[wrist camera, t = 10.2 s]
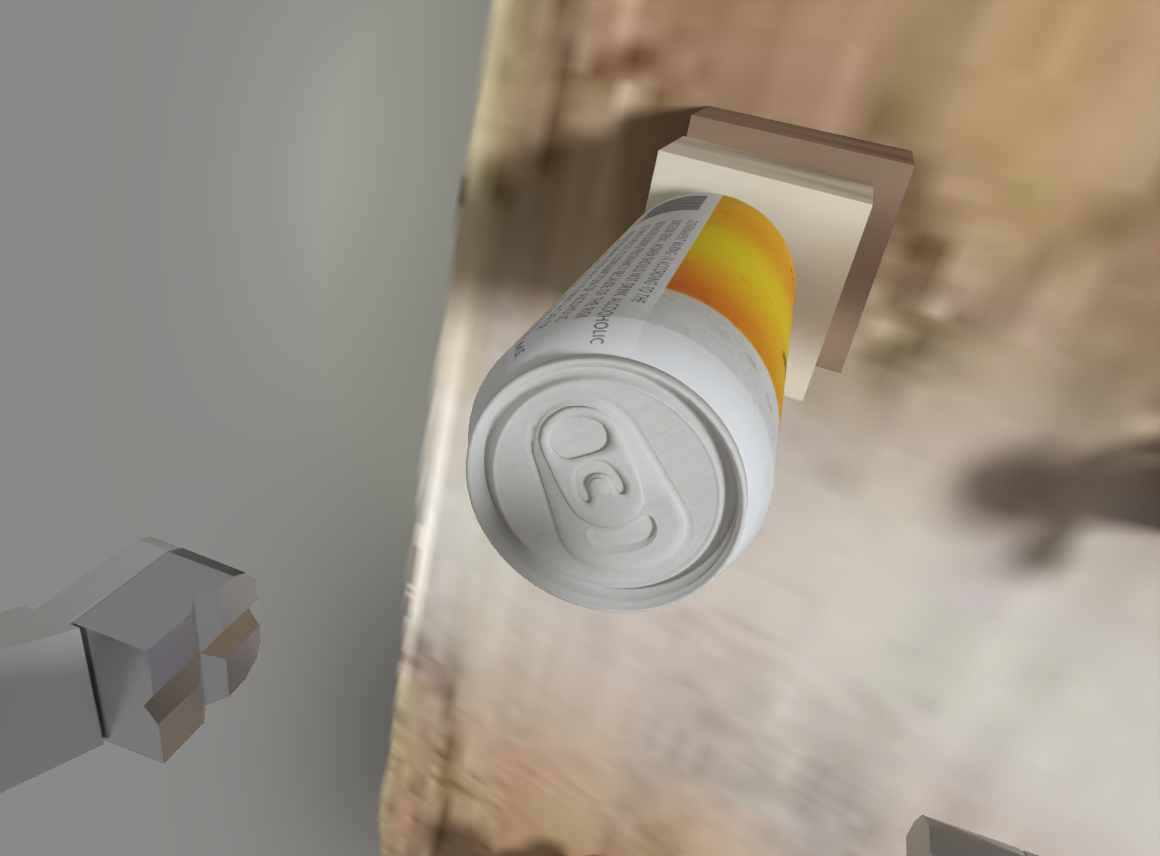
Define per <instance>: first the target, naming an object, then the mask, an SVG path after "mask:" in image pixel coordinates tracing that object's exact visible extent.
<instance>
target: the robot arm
mask: <svg viewBox="0 0 1160 856" xmlns="http://www.w3.org/2000/svg"><path fill="white" fill-rule="evenodd" d="M257 599H258V596H257V587H256V579H255V578H254V577H252V576H251V575H249V574H247V573H245V572H242V571H240V570H237V569H235V568H232V567H230V566H227V565H224V564H222V563H220V562H217V561H214V560H212V559H209V558H207V557H204V556H202V555H199V554H196V553H194V552H192V551H189V550H186V549H184V548H180V547H177V546H175V545H172V544H169V543H167V542H164V541H162V540H159V539H156V538H154V537H151V536H149V537H145V538H140V539H136V540H134V541H133V542H131V543H130V544H128V545H127V546H125V547H124V548H123V549H121V550H120V551H118V552H117V553H115V554H114V555H112V556H111V557H110V558H108V559H107V560H105V561H104V562H102V563H101V564H99V565H98V566H97V567H95V568H94V569H92V570H91V571H90V572H88V573H86V574H85V575H83V576H82V577H81V578H79V579H78V580H76V581H75V582H73V583H72V584H71V585H69V586H68V587H66V588H65V589H63V590H62V591H60V592H59V593H57V594H56V595H55V596H53V597H52V598H50V599H49V600H47V601H46V602H44V603H43V604H41V605H40V606H39V607H37V608H36V609H32V608H29V607H26V606H22V607H17V608H14V609H10V610H6V611H2V612H0V793H2V792H4V791H6V790H8V789H10V788H12V787H14V786H17V785H19V784H21V783H23V782H25V781H27V780H29V779H31V778H33V777H35V776H38V775H40V774H42V773H44V772H46V771H48V770H50V769H52V768H55V767H57V766H59V765H61V764H63V763H65V762H67V761H69V760H71V759H74V758H76V757H78V756H80V755H82V754H84V753H86V752H88V751H90V750H93V749H95V748H97V747H99V746H101V745H103V743H104V742H103V740H105V741H108V742H110V743H113V744H115V745H118V746H120V747H123V748H126V749H128V750H131V751H133V752H136V753H138V754H141V755H144V756H146V757H149V758H151V759H154V760H157V761H159V762H161V763H165V762H166V761H167V760H168V759H169V758H170V757H171V756H172V755H173V754H174V753H175V752H176V751H177V750H178V749H179V748H180V747H181V746H182V745H183V744H184V743H185V741H187V740H188V739H189V737H190V736H191V735H192V734H193V733H194V732H195V731H196V730H197V729H198V728H199V727H200V726H201V725H202V724H203V723H204V718H205V709H206V705H208V704H211V703H213V702H216V701H219V700H221V699H224V698H226V697H229V696H230V695H231V694H232V693H233V692H234V691H235V690H236V688H238V686H239V685H240V684H241V683H242V682H243V681H244V680H245V678H246V677H247V674H248V673H249V671H250V669H251V667H252V666H253V664H254V662H255V660H256V658H257V654H258V649H259V645H260V625H259V624H258V622H257V621H256V619H255V618H254V616H253V614H252V613H251V612H250V610H249V607H250V606H251V605H252V604H253V603H254V602H255V601H256V600H257ZM906 845H907V856H1038V855H1035V854H1032V853H1029V852H1027V851H1021V850H1020V849H1018V848H1016V847H1013V846H1010V845H1008V844H1005V843H1002V842H999V841H996V840H993V839H990V838H987V837H985V836H982V835H979V834H976V833H973V832H970V831H967V830H964V829H961V828H959V827H956V826H953V825H950V824H947V823H944V822H941V821H938V820H936V819H933V818H930V817H927V816H924V815H921V816H920V817H919V818H918V819H917V820H915V821H914V823H913V825H912V827H911V829H910V831H909V832H908V834H907V836H906Z"/></svg>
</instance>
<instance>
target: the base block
mask: <svg viewBox="0 0 1160 856" xmlns="http://www.w3.org/2000/svg"><path fill="white" fill-rule="evenodd" d="M686 137H689V138H693V139H697V140H701V141H705V142H709V143H713V144H717V145H721V146H725V147H729V148H733V149H737V150H741V151H745V152H749V153H753V154H757V155H761V156H765V157H769V158H773V159H777V160H781V161H785V162H789V163H793V164H797V165H801V166H805V167H809V168H813V169H817V170H821V171H825V172H829V173H833V174H837V175H841V176H845V177H849V178H853V179H857V180H861V181H865V182H869V183H873V184H874V191H873V206H872V209H871V212H870V214H869V217H868V220H867V223H866V226H865V228H864V231H863V234H862V237H861V239H860V242H859V245H858V248H857V251H856V253H855V256H854V259H853V262H852V265H851V267H850V270H849V273H848V276H847V279H846V281H845V284H844V287H843V290H842V292H841V295H840V298H839V301H838V304H837V306H836V309H835V312H834V315H833V318H832V320H831V323H830V326H829V329H828V332H827V334H826V337H825V340H824V343H823V345H822V348H821V351H820V354H819V357H818V359H817V362H816V365H815V366H818V367H821V368H825V369H828V370H832V371H836V372H839V373H841V371H842V368H843V365H844V362H845V359H846V357H847V354H848V351H849V348H850V346H851V343H852V340H853V337H854V334H855V332H856V329H857V326H858V323H859V320H860V318H861V315H862V312H863V309H864V306H865V304H866V301H867V298H868V295H869V292H870V290H871V287H872V284H873V281H874V278H875V276H876V273H877V270H878V267H879V264H880V262H881V259H882V256H883V253H884V250H885V248H886V245H887V242H888V239H889V237H890V234H891V231H892V228H893V225H894V223H895V220H896V217H897V214H898V211H899V209H900V206H901V203H902V200H903V197H904V195H905V192H906V189H907V186H908V183H909V181H910V178H911V175H912V172H913V169H914V167H915V164H914V159H913V155H912V151H908V150H904V149H899V148H895V147H890V146H886V145H881V144H877V143H873V142H868V141H864V140H859V139H855V138H850V137H846V136H841V135H837V134H832V133H828V132H823V131H819V130H815V129H810V128H806V127H801V126H797V125H792V124H788V123H783V122H779V121H774V120H770V119H765V118H761V117H757V116H752V115H748V114H743V113H739V112H734V111H730V110H725V109H721V108H716V107H712V106H708V107H706V108H704V109H702V110H700V111H698V112H696V113H694V114H692V115H691V118H690V123H689V127H688V132H687V136H686Z"/></svg>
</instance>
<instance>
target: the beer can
mask: <svg viewBox="0 0 1160 856" xmlns="http://www.w3.org/2000/svg"><path fill="white" fill-rule="evenodd" d="M795 287H796V279H795V269H794V264H793V260H792V257H791V254H790V251H789V248H788V246H787V244H786V242H785V240H784V239H783V237H782V235H781V234H780V232H779V231H778V230H777V228H776V227H775V226H774V225H773V223H772V222H771V221H770V220H769V219H768V218H766V217H765V216H764V215H763V214H762V213H761V212H759V211H758V210H757V209H755V208H754V207H752V206H750V205H748V204H747V203H745V202H743V201H740V200H738V199H736V198H733V197H729V196H726V195H721V194H715V193H690V194H685V195H680V196H677V197H674V198H671V199H668V200H666V201H664V202H661V203H659V204H657V205H656V206H654V207H653V208H651V209H649V210H648V211H647V212H646V213H644V214H643V215H642V216H641V217H640V218H639V219H638V220H637V221H636V222H635V223H634V224H633V225H632V226H631V227H630V228H629V229H628V230H627V231H626V232H625V233H624V234H623V235H622V236H621V237H620V238H619V239H618V240H617V241H616V242H615V243H614V244H613V245H612V246H611V247H610V248H609V249H608V250H607V251H606V252H605V253H604V254H603V255H602V256H601V257H600V258H599V259H598V260H597V261H596V262H595V263H594V264H593V265H592V266H591V267H590V268H589V269H588V270H587V271H586V272H585V273H584V274H583V275H582V276H581V277H580V278H579V279H578V280H577V281H576V282H575V283H574V284H573V285H572V286H571V287H570V288H569V289H568V290H567V291H566V292H565V293H564V294H563V295H562V296H561V297H560V298H559V299H558V300H557V301H556V303H555V304H554V305H553V306H552V307H551V308H550V309H549V310H548V311H547V312H546V313H545V314H544V315H543V316H542V317H541V318H540V319H539V320H538V321H537V322H536V323H535V324H534V325H533V326H532V327H531V328H530V329H529V330H528V331H527V332H526V333H525V334H524V335H523V336H522V337H521V338H520V339H519V340H518V341H517V342H516V343H515V344H514V345H513V346H512V347H511V348H510V349H509V350H508V351H507V352H506V353H505V354H504V355H503V356H502V357H501V358H500V359H499V360H498V361H497V362H496V364H495V365H494V366H493V368H492V369H491V370H490V372H489V373H488V374H487V376H486V378H485V379H484V381H483V383H482V385H481V387H480V388H479V391H478V393H477V396H476V399H475V401H474V404H473V408H472V412H471V416H470V423H469V432H468V451H467V460H466V479H467V486H468V492H469V496H470V500H471V504H472V507H473V510H474V512H475V515H476V518H477V520H478V522H479V524H480V526H481V528H482V530H483V532H484V533H485V535H486V536H487V538H488V539H489V541H490V542H491V544H492V545H493V547H494V548H495V549H496V550H497V552H498V553H499V554H500V555H501V556H502V557H503V559H504V560H505V561H506V562H507V563H508V564H509V565H510V566H511V567H512V568H513V569H515V570H516V571H517V572H518V573H519V574H520V575H522V576H523V577H524V578H526V579H527V580H528V581H530V582H531V583H533V584H534V585H535V586H537V587H539V588H541V589H542V590H544V591H546V592H547V593H549V594H551V595H554V596H556V597H558V598H560V599H562V600H565V601H567V602H570V603H573V604H576V605H579V606H583V607H587V608H590V609H596V610H602V611H609V612H641V611H648V610H654V609H658V608H662V607H666V606H669V605H672V604H675V603H677V602H680V601H682V600H684V599H686V598H688V597H690V596H692V595H694V594H695V593H697V592H698V591H700V590H701V589H703V588H704V587H706V586H707V585H708V584H709V583H710V582H711V581H712V580H713V579H715V578H716V577H717V576H718V574H719V573H720V572H721V571H722V570H723V569H725V568H726V567H728V566H729V565H730V564H731V563H732V562H733V561H734V560H736V559H737V558H738V557H739V556H740V555H741V554H742V553H743V551H744V550H745V549H746V548H747V547H748V546H749V545H750V543H751V542H752V540H753V539H754V537H755V536H756V534H757V533H758V531H759V529H760V527H761V525H762V523H763V521H764V519H765V517H766V513H767V510H768V507H769V504H770V501H771V495H772V490H773V483H774V475H775V466H776V457H777V448H778V439H779V431H780V422H781V413H782V404H783V396H784V387H785V378H786V369H787V361H788V352H789V343H790V334H791V326H792V317H793V308H794V299H795Z"/></svg>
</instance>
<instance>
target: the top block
mask: <svg viewBox="0 0 1160 856" xmlns="http://www.w3.org/2000/svg"><path fill="white" fill-rule="evenodd" d="M873 191H874V184H873V183H869V182H865V181H861V180H857V179H853V178H849V177H845V176H841V175H837V174H833V173H829V172H825V171H821V170H817V169H813V168H809V167H805V166H801V165H797V164H793V163H789V162H785V161H781V160H777V159H773V158H769V157H765V156H761V155H757V154H753V153H749V152H745V151H741V150H737V149H733V148H729V147H725V146H721V145H717V144H713V143H709V142H705V141H701V140H697V139H693V138H689V137H685V136H683V137H681V138H679V139H677V140H676V141H674V142H672V143H670V144H669V145H667V146H665V147H663V148H662V149H660V150H659V151H658V155H657V160H656V164H655V169H654V173H653V178H652V182H651V187H650V191H649V195H648V200H647V204H646V209H645V213H646V212H647V211H648V210H649V209H651V208H653V207H654V206H656V205H657V204H659V203H661V202H664V201H666V200H668V199H671V198H674V197H677V196H680V195H685V194H690V193H715V194H721V195H726V196H729V197H733V198H736V199H738V200H740V201H743V202H745V203H747V204H748V205H750V206H752V207H754V208H755V209H757V210H758V211H759V212H761V213H762V214H763V215H764V216H765V217H766V218H768V219H769V220H770V221H771V222H772V223H773V225H774V226H775V227H776V228H777V230H778V231H779V232H780V234H781V235H782V237H783V239H784V240H785V242H786V244H787V246H788V248H789V251H790V254H791V257H792V260H793V264H794V269H795V279H796V287H795V299H794V308H793V317H792V326H791V334H790V343H789V352H788V361H787V369H786V378H785V387H784V396H787V397H790V398H794V399H797V400H800V401H803V398H804V396H805V393H806V390H807V387H808V385H809V382H810V379H811V376H812V373H813V371H814V368H815V365H816V362H817V359H818V357H819V354H820V351H821V348H822V345H823V343H824V340H825V337H826V334H827V332H828V329H829V326H830V323H831V320H832V318H833V315H834V312H835V309H836V306H837V304H838V301H839V298H840V295H841V292H842V290H843V287H844V284H845V281H846V279H847V276H848V273H849V270H850V267H851V265H852V262H853V259H854V256H855V253H856V251H857V248H858V245H859V242H860V239H861V237H862V234H863V231H864V228H865V226H866V223H867V220H868V217H869V214H870V212H871V209H872V206H873Z"/></svg>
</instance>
